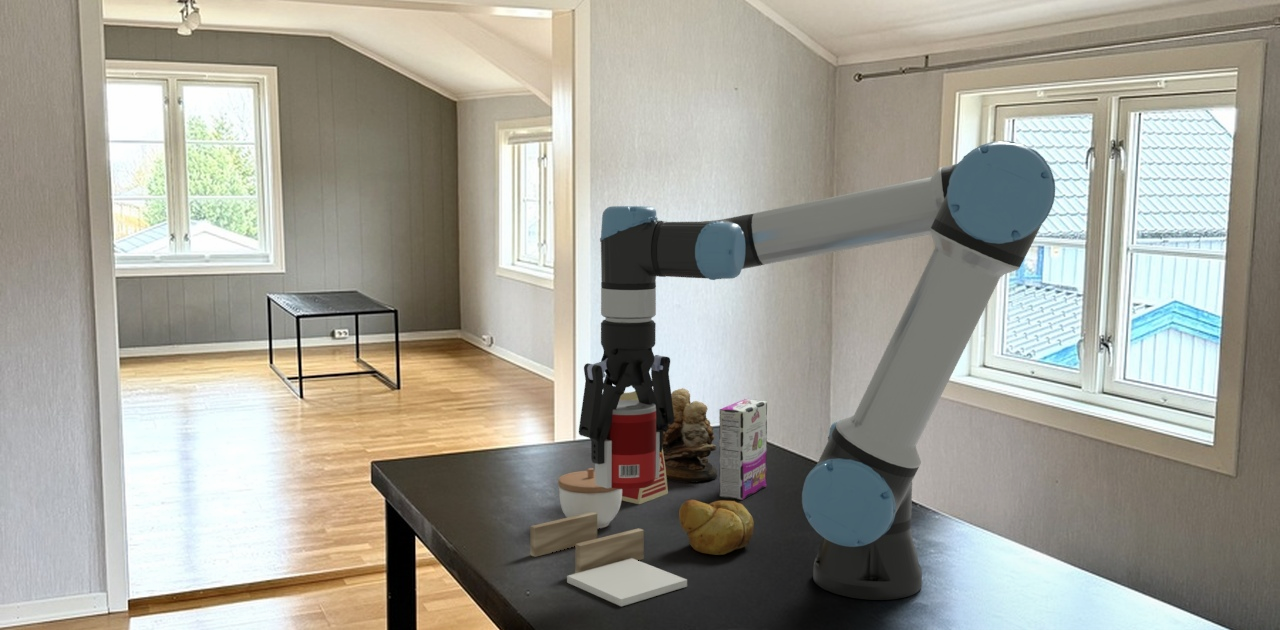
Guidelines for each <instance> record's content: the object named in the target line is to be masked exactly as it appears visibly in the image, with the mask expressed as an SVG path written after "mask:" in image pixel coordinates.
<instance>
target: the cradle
mask: <svg viewBox="0 0 1280 630" xmlns="http://www.w3.org/2000/svg"><path fill="white" fill-rule="evenodd" d="M529 528H530V531H529V532H530V537H529V538H530V540H529V542H530V543H529V544H530V545H529V547H530V549H529V550H530V552H529V553H530V556H532V557H535V558H538V557H539V556H543V555H548V554H552V552H553V553H556V551H557V552H560V550H561V551H565V550H568V549H567V548H569V549H572V548H571V547H573V548H575V552H574V553H575V555H574V556H575V557H574V559H575V561H574V562H575V563H574V564H575V565H574V569H575V570H574V574H575V573H579V572H583V571H586V570H590V569H594V568H597V567H601V566H605V565H608V564H612V563H616V562H620V561H623V560H627V559H631V558H633V559H635V560H639V561H642V560H645V559H644V557H645V556H644V553H645V549H644V548H645V547H644V546H645V545H644V544H645V542H644V541H645V539H644V538H645V534H644V533H645V530H644V529H642V528H639V527H638V528H635V529H630V530H625V531H623V532H622V531H621V532H619V533H614V534H610V535H606V536H603V537H598V529H597V513H594V512H590V513H585V514H581V515H577V516H572V517H568V518H567V517H565V518H564V517H563V518H560V519H556V520H552V521H551V520H550V521H547V522H544V523H543V522H542V523H539V524H534V525H530V527H529ZM574 546H575V547H574ZM564 549H565V550H564Z"/></svg>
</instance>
